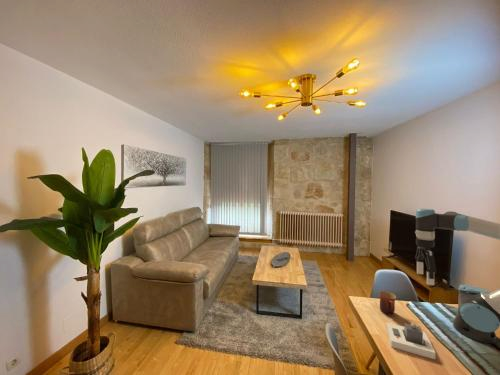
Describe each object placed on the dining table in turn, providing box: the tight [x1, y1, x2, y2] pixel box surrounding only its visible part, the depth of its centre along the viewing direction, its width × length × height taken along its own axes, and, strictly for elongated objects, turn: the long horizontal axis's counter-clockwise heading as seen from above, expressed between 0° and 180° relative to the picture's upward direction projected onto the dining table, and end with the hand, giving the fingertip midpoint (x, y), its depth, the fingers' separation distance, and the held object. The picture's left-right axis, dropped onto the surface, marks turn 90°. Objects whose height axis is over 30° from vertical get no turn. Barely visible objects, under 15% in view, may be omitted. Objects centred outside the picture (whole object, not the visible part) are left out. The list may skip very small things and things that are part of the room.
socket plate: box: [385, 321, 437, 360], centre depth 100 cm, size 16×14×4 cm
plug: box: [403, 322, 424, 345], centre depth 99 cm, size 6×4×8 cm
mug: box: [378, 290, 397, 316], centre depth 122 cm, size 12×9×10 cm
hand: (424, 278), depth 110 cm, fingers open, 13 cm apart
